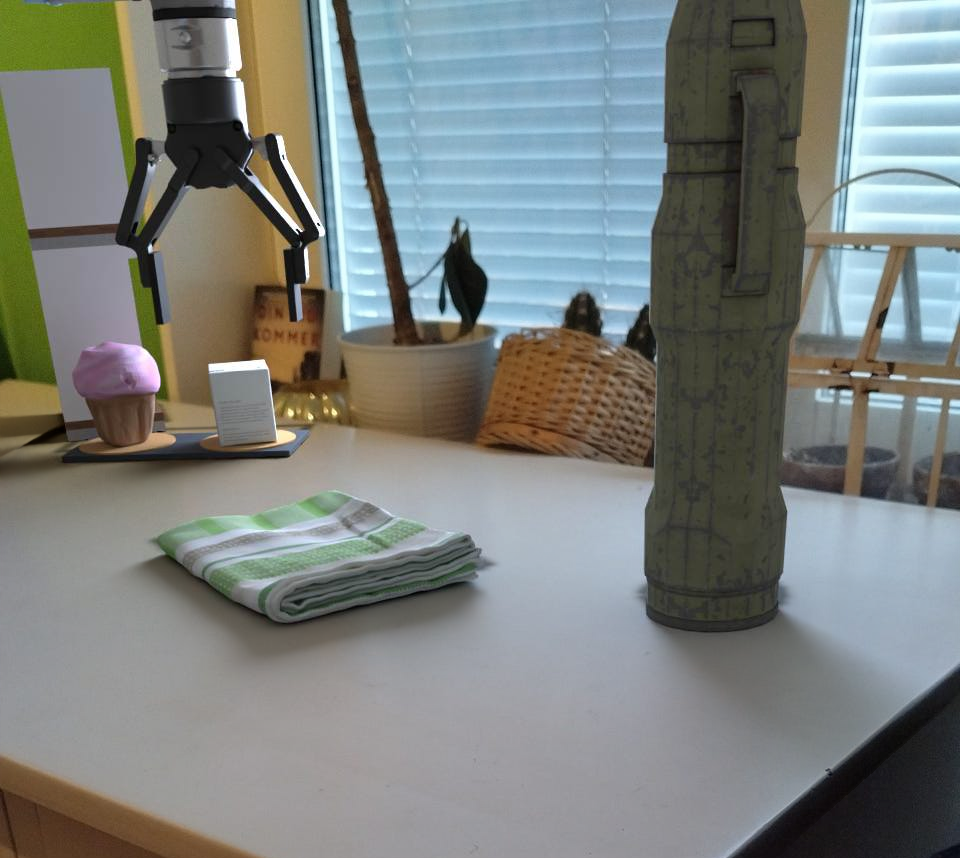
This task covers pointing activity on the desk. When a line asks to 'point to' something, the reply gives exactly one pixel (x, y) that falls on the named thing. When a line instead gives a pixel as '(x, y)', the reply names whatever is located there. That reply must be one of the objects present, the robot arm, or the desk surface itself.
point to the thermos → (724, 311)
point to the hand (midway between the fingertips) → (229, 322)
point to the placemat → (184, 447)
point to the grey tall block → (74, 218)
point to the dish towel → (319, 556)
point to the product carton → (242, 402)
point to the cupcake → (118, 391)
